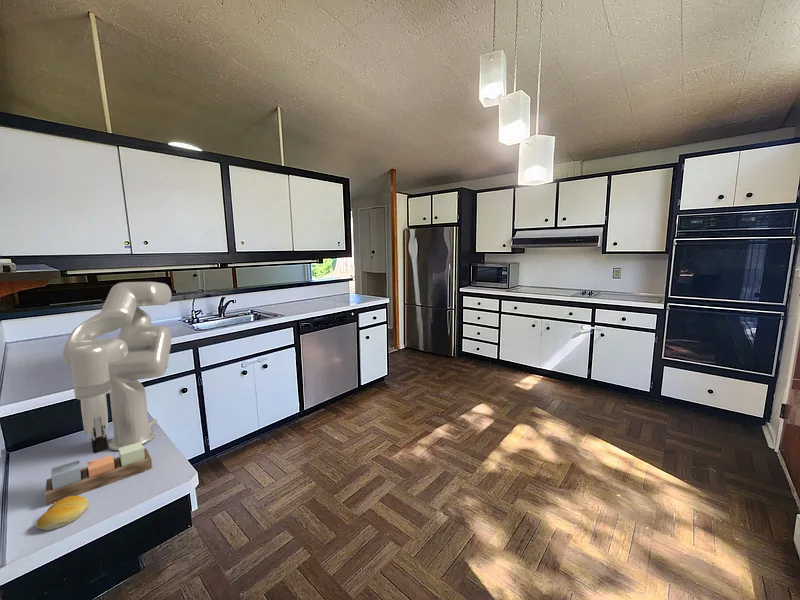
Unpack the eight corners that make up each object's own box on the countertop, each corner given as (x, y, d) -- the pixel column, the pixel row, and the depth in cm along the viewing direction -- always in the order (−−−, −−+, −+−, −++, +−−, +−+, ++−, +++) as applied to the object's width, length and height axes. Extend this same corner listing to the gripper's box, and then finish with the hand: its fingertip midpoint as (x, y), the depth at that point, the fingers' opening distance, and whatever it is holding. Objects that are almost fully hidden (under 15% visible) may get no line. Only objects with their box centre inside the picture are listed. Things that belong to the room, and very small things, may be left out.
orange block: (113, 467, 100) (112, 454, 99) (115, 475, 96) (114, 461, 96) (88, 475, 96) (87, 462, 96) (89, 483, 92) (88, 470, 92)
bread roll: (29, 536, 76) (26, 520, 75) (56, 509, 84) (54, 494, 84) (74, 527, 78) (72, 511, 78) (95, 502, 87) (94, 487, 86)
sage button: (142, 453, 105) (141, 441, 104) (145, 460, 101) (144, 447, 100) (119, 460, 101) (118, 448, 100) (122, 468, 97) (120, 455, 97)
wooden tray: (147, 457, 107) (146, 448, 107) (152, 468, 101) (151, 459, 100) (47, 489, 92) (46, 479, 91) (46, 505, 85) (45, 495, 85)
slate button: (80, 473, 95) (79, 460, 94) (81, 481, 91) (79, 468, 91) (53, 482, 91) (51, 468, 91) (52, 491, 87) (51, 477, 87)
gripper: (73, 385, 96) (81, 445, 98) (75, 400, 86) (83, 467, 88) (108, 379, 102) (114, 436, 104) (113, 392, 91) (120, 455, 93)
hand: (100, 450), depth 96 cm, fingers closed
